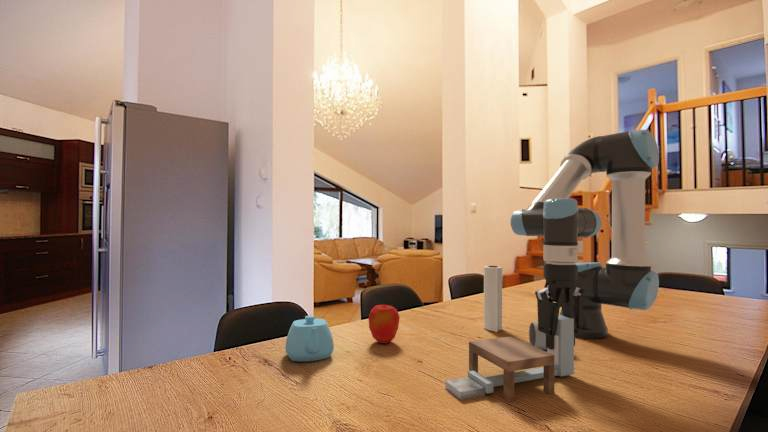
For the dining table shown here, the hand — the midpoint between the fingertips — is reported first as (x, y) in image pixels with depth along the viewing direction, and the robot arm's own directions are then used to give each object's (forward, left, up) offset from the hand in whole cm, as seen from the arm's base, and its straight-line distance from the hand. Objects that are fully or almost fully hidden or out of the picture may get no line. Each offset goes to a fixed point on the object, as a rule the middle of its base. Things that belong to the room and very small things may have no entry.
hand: (560, 360), depth 90 cm
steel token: (+27, 0, -4) cm, 27 cm away
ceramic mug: (-11, -17, -4) cm, 21 cm away
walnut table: (+15, 0, -3) cm, 15 cm away
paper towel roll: (-9, -38, -3) cm, 39 cm away
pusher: (+11, 0, -3) cm, 11 cm away
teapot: (+54, -32, -4) cm, 63 cm away
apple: (+31, -37, -3) cm, 48 cm away
